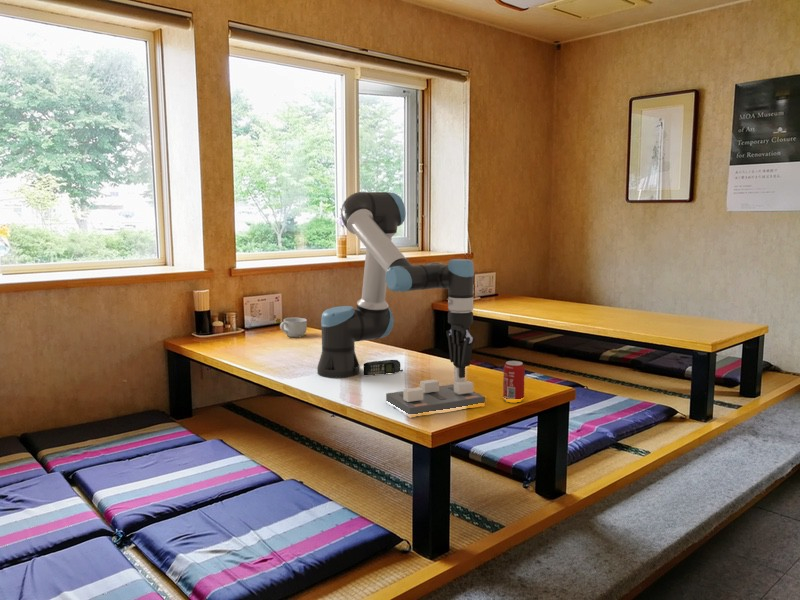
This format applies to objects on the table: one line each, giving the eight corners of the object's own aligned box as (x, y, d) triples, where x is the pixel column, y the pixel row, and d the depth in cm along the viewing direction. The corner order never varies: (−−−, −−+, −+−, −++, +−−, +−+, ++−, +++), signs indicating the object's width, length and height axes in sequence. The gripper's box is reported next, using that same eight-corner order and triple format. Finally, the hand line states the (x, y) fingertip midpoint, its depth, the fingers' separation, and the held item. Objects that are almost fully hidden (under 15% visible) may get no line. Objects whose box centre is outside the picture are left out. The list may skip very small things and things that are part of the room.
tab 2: (420, 390, 197) (420, 381, 197) (434, 388, 199) (434, 379, 199) (424, 393, 194) (424, 383, 194) (439, 391, 197) (439, 381, 196)
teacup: (299, 333, 306) (299, 316, 305) (311, 336, 298) (311, 319, 297) (273, 336, 297) (272, 319, 296) (285, 340, 289) (284, 322, 288)
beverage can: (527, 400, 198) (528, 362, 197) (516, 405, 194) (517, 366, 192) (510, 396, 202) (511, 359, 201) (498, 401, 198) (499, 362, 196)
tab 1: (403, 399, 188) (403, 389, 188) (418, 397, 190) (418, 387, 190) (407, 401, 186) (407, 391, 185) (423, 399, 188) (423, 389, 187)
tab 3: (453, 391, 196) (453, 382, 195) (467, 389, 198) (467, 380, 197) (458, 394, 193) (458, 384, 193) (473, 392, 195) (473, 382, 195)
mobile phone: (364, 363, 226) (404, 359, 231) (362, 362, 229) (401, 357, 234) (365, 377, 227) (404, 372, 232) (362, 375, 230) (401, 370, 235)
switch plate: (386, 403, 196) (386, 393, 195) (457, 392, 207) (457, 383, 206) (409, 418, 182) (409, 407, 181) (484, 406, 192) (485, 396, 192)
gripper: (439, 308, 198) (438, 383, 201) (461, 315, 186) (460, 394, 190) (460, 307, 201) (459, 380, 205) (483, 313, 190) (481, 391, 193)
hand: (459, 387), depth 197 cm, fingers closed
